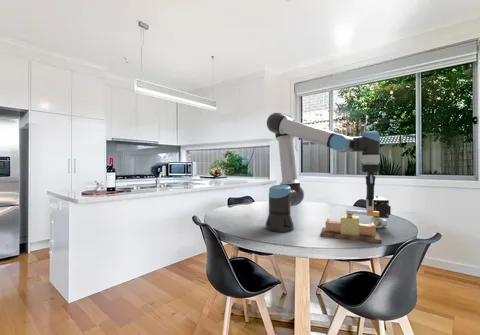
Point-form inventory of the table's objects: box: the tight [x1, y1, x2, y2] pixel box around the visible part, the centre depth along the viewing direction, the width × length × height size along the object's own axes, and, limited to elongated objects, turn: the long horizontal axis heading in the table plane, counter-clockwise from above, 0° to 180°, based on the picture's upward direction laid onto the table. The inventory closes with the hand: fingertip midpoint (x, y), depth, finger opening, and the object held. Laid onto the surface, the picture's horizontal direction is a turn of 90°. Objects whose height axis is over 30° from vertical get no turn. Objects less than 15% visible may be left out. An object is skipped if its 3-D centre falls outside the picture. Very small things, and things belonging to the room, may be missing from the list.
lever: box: [345, 209, 379, 217], centre depth 118 cm, size 14×3×2 cm, turn 67°
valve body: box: [325, 214, 377, 237], centre depth 120 cm, size 22×8×10 cm, turn 67°
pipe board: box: [320, 227, 383, 244], centre depth 120 cm, size 26×12×2 cm, turn 67°
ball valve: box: [365, 194, 392, 229], centre depth 138 cm, size 18×8×18 cm, turn 168°
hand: (369, 212), depth 119 cm, fingers closed
